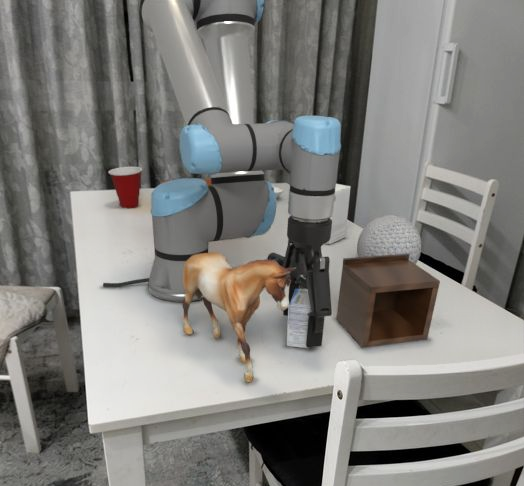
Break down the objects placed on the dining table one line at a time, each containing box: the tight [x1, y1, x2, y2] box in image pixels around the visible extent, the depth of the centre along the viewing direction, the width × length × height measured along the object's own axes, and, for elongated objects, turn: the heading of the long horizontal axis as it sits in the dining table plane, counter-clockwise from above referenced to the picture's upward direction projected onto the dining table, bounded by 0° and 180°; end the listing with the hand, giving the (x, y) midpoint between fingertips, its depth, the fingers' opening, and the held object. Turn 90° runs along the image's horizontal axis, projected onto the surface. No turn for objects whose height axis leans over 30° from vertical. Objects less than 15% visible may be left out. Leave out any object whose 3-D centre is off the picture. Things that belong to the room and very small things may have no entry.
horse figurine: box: [181, 252, 296, 383], centre depth 90 cm, size 31×8×21 cm, turn 35°
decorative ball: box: [356, 214, 422, 265], centre depth 125 cm, size 15×15×15 cm
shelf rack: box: [335, 254, 441, 348], centre depth 101 cm, size 14×12×13 cm
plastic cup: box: [108, 166, 143, 209], centre depth 173 cm, size 11×11×12 cm
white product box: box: [325, 183, 352, 245], centre depth 150 cm, size 9×9×15 cm
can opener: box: [266, 252, 308, 289], centre depth 122 cm, size 18×7×6 cm, turn 40°
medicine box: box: [286, 288, 311, 349], centre depth 98 cm, size 8×4×9 cm, turn 168°
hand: (301, 329), depth 99 cm, fingers open, 12 cm apart
